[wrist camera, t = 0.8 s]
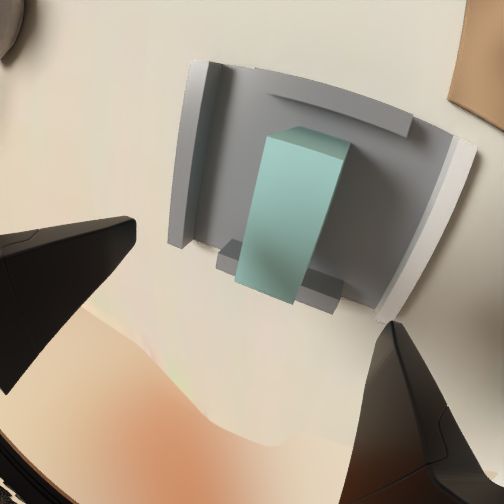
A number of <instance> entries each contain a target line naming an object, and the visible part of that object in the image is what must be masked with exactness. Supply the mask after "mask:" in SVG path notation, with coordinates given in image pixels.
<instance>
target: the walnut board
mask: <svg viewBox="0 0 504 504" xmlns="http://www.w3.org/2000/svg"><path fill="white" fill-rule="evenodd" d="M447 100H449V101H451V102H453V103H455V104H457V105H459V106H461V107H462V108H464V109H466V110H468V111H470V112H472V113H474V114H475V115H477V116H479V117H481V118H482V119H484V120H486V121H487V122H489V123H491V124H492V125H494V126H496V127H497V128H499V129H501V130H502V131H504V0H467V1H466V9H465V16H464V23H463V29H462V35H461V41H460V46H459V51H458V56H457V60H456V65H455V69H454V74H453V78H452V82H451V86H450V90H449V94H448V97H447Z"/></svg>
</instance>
